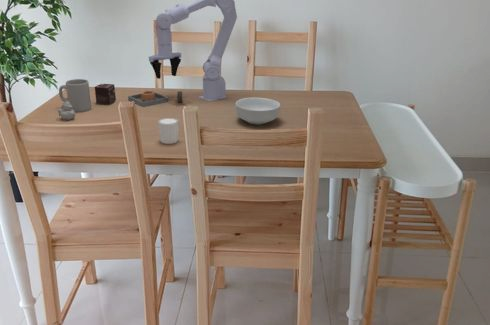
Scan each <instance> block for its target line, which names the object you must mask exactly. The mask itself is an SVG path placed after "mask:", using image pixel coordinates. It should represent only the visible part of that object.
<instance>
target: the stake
mask: <svg viewBox="0 0 490 325" xmlns="http://www.w3.org/2000/svg"><path fill="white" fill-rule="evenodd" d="M176 94H177V99H174V100H169V102H167V103H168V104H170V105H173V106H175V107H183V106H186V105H191V104H194V102H192V101H190V100H187V99H185V98H183V91H177V93H176Z"/></svg>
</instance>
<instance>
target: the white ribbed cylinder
mask: <svg viewBox="0 0 490 325" xmlns="http://www.w3.org/2000/svg"><path fill="white" fill-rule="evenodd" d="M179 123H180V121H179V119H177V118H172V117H165V118H160V119H158V120H157V126H158V133H159V139H160V142H161V143H162V144H165V145H166V144H167V145H171V144H176V143H177V142H179V141H178V138H179V125H180V124H179Z"/></svg>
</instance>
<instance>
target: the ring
mask: <svg viewBox="0 0 490 325" xmlns="http://www.w3.org/2000/svg"><path fill="white" fill-rule="evenodd" d="M139 94H140V97H141V101H142V102H147V101H152V100H155V91H153V90H145V91H142V92H141V93H139Z"/></svg>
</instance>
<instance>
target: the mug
mask: <svg viewBox="0 0 490 325" xmlns="http://www.w3.org/2000/svg"><path fill="white" fill-rule="evenodd" d="M63 90H65V91H66V97H65V96H64V95H63ZM58 94H59V98H60V101H62V102H63V103H64V102H65V101H66V99H67V101H68V102H69V103H70V104H71V105H72V108H71V109H73V110H74V112H75V113H83V112H84V113H85V112H88V111H91V110H92V102H91V92H90V84H89V81H88V80H87V79H81V78H79V79H78V78H75V79H70V80H67V81H65V84H62V85H60V86H59V88H58Z"/></svg>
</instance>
